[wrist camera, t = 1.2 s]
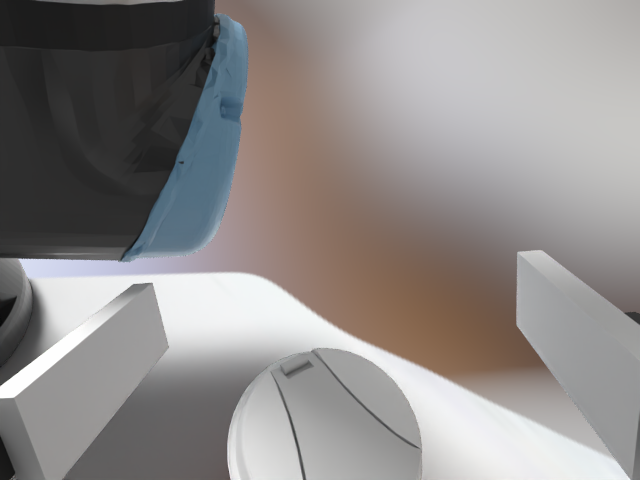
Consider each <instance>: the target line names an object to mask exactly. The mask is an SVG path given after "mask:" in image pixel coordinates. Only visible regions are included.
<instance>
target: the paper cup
mask: <svg viewBox="0 0 640 480" xmlns="http://www.w3.org/2000/svg"><path fill="white" fill-rule="evenodd" d="M421 453H422V443H421V437H420V431H419V427H418V424H417V421H416V418H415V415H414V412H413V410H412V408H411V406H410V404H409V402H408V400H407V398H406V397H405V395H404V394H403V392H402V390H401V389H400V388H399V387H398V385H397V384H396V383H395V382H394V381H393V379H392V378H391V377H389V376H388V375H387V374H386V373H385V372H384V371H383V370H382V369H381V368H379V367H378V366H376V365H375V364H374V363H372V362H370V361H369V360H367V359H365V358H363V357H361V356H359V355H356V354H354V353H351V352H347V351H343V350H339V349H329V348H319V349H313V350H312V351H311V352H304V353H299V354H294V355H291V356H288V357H286V358H283V359H281V360H279V361H277V362H275V363H274V364H272V365H270V366H269V367H267V368H266V369H265V370H264V371H262V372H261V373H260V374H259V375H258V376H257V377H256V378H255V379H254V380H253V381H252V382H251V383H250V384H249V385H248V387H247V388H246V390H245V392H244V393H243V395H242V396H241V398H240V400H239V402H238V404H237V406H236V408H235V411H234V413H233V417H232V420H231V424H230V427H229V434H228V442H227V461H228V469H229V474H230V480H421V475H422V455H421Z"/></svg>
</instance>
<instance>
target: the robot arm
mask: <svg viewBox="0 0 640 480" xmlns="http://www.w3.org/2000/svg"><path fill="white" fill-rule="evenodd" d="M214 9H215V0H0V367H1V366H2V365H3V364H4V363H5V361H6V360H7V359H8V358H9V357H10V355H11V354H12V353H13V351H14V350H15V349H16V347H17V346H18V344H19V342H20V341H21V339H22V337H23V335H24V333H25V331H26V329H27V326H28V324H29V321H30V317H31V313H32V306H33V295H32V289H31V285H30V282H29V280H28V278H27V276H26V274H25V271H24V269H23V267H22V265H21V263H20V262H19V260H18V258H21V259H23V258H24V259H71V260H118V262H131V261H133V260H135V259H136V258H155V257H176V256H186V255H190V254H193V253H195V252H196V251H199V250H201V249H203V248H204V247H205V246H207V245H208V244H209V243H210V241H211V240H212V239H213V237H214V236H215V234H216V232H217V231H218V228H219V226H220V224H221V221H222V218H223V215H224V212H225V209H226V205H227V201H228V198H229V194H230V189H231V185H232V180H233V175H234V170H235V165H236V160H237V154H238V148H239V142H240V134H241V121H240V115H241V114H242V111H243V102H244V97H245V92H246V88H247V75H248V43H247V36H246V32H245V30H244V28H243V26H242V25H241V24H239V23H237V22H235V21H233V20H231V18H230V17H229V16H228V15H224V14H216V15H214ZM517 326H518V328H519V329H520V330H521V332H522V333H523V334H524V336H525V337H526V338H527V340H528V341H529V343H530V344H531V345H532V347H533V348H534V349H535V351H536V352H537V353H538V355H539V356H540V357H541V359H542V360H543V362H544V363H545V364H546V366H547V367H548V368H549V370H550V371H551V372H552V374H553V375H554V376H555V378H556V379H557V381H558V382H559V383H560V385H561V386H562V387H563V389H564V390H565V391H566V393H567V394H568V396H569V397H570V398H571V399H572V401H573V402H574V404H575V405H576V406H577V408H578V409H579V410H580V412H581V413H582V415H583V416H584V417H585V418H586V420H587V421H588V423H589V424H590V425H591V427H592V428H593V429H594V431H595V432H596V434H597V435H598V436H599V438H600V439H601V440H602V442H603V443H604V444H605V446H606V447H607V448H608V450H609V451H610V453H611V454H612V455H613V457H614V458H615V459H616V461H617V462H618V463H619V465H620V466H621V467H622V469H623V470H624V472H625V473H626V474H627V476H628V477H629V478H630V480H640V314H639V313H636V312H628V313H623V312H622V311H620V310H619V309H618V308H617V307H615V306H614V305H613V304H611V303H610V302H609V301H607V300H606V299H605V298H603V297H602V296H601V295H599V294H598V293H597V292H595V291H594V290H593V289H591V288H590V287H589V286H588V285H586V284H585V283H584V282H582V281H581V280H580V279H578V278H577V277H576V276H575V275H573V274H572V273H571V272H569V271H568V270H567V269H565V268H564V267H563V266H561V265H560V264H559V263H557V262H556V261H555V260H553V259H552V258H551V257H550V256H548V255H547V254H546V253H544V252H543V251H542V250H536V251H524V252H518V253H517ZM168 348H169V346H168V342H167V338H166V334H165V330H164V326H163V323H162V319H161V315H160V311H159V307H158V303H157V299H156V295H155V291H154V287H153V283H143V284H133V285H132V286H131V287H129V288H128V289H127V290H125V291H124V292H123V293H121V294H120V295H119V296H117V297H116V298H115V299H114V300H112V301H111V302H110V303H108V304H107V305H106V306H104V307H103V308H102V309H101V310H99V311H98V312H97V313H95V314H94V315H93V316H91V317H90V318H89V319H87V320H86V321H85V322H84V323H82V324H81V325H80V326H78V327H77V328H76V329H74V330H73V331H72V332H71V333H69V334H68V335H67V336H65V337H64V338H63V339H61V340H60V341H59V342H58V343H56V344H55V345H54V346H52V347H51V348H50V349H48V350H47V351H46V352H44V353H43V354H42V355H41V356H39V357H38V358H37V359H35V360H34V361H33V362H31V363H30V364H29V365H28V366H26V367H25V368H24V369H22V370H21V371H20V372H18V373H17V374H16V375H14V376H13V377H12V378H11V379H9V380H8V381H7V382H5V383H4V384H3V385H1V386H0V480H10V479H11V478H12V476H13V475H14V474H15V477H16V479H17V480H62V479H63V478H64V477H65V475H66V474H67V473H68V472H69V470H70V469H71V468H72V467H73V466H74V464H75V463H76V462H77V461H78V459H79V458H80V457H81V456H82V454H83V453H84V452H85V451H86V449H87V448H88V447H89V446H90V444H91V443H92V442H93V441H94V439H95V438H96V437H97V436H98V434H99V433H100V432H101V431H102V430H103V428H104V427H105V426H106V425H107V423H108V422H109V421H110V420H111V418H112V417H113V416H114V415H115V413H116V412H117V411H118V410H119V408H120V407H121V406H122V405H123V403H124V402H125V401H126V400H127V399H128V397H129V396H130V395H131V394H132V392H133V391H134V390H135V389H136V387H137V386H138V385H139V384H140V382H141V381H142V380H143V379H144V377H145V376H146V375H147V374H148V372H149V371H150V370H151V369H152V368H153V366H154V365H155V364H156V363H157V361H158V360H159V359H160V358H161V356H162V355H163V354H164V353H165V351H166V350H167V349H168Z"/></svg>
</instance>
